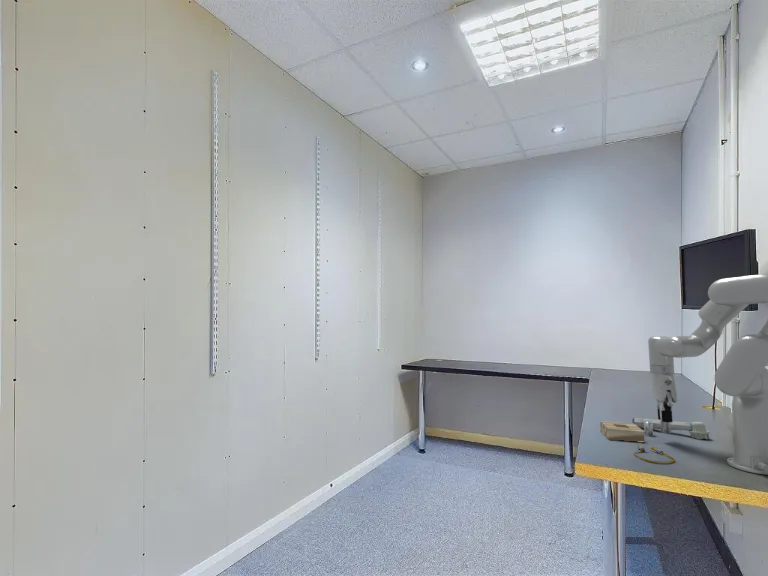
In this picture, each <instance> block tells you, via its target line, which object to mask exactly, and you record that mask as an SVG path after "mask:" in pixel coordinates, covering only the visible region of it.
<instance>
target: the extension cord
mask: <svg viewBox="0 0 768 576" xmlns="http://www.w3.org/2000/svg"><path fill="white" fill-rule="evenodd" d="M637 449H638V450H639V449H640V450H639V451H640V452H641V451H642V450H644V451H645V446H644V445H643V444H642V443H639V444H637ZM650 449H652V450H654V451H656V452H659V453H662V454H661V455H665V456H668V458H669V457H670V458H669V459H671V458H672V460H668V461H660V460H659V461H657V460H651V459H647V458H644V457H641V456H639V455H637V453H636V452H637V451H634V452H633V456H634V455H635V456H637V457H638V458H640V459H639V460H641V459H642V460H641V461H643V460H645V462H647V461H649V462H648V463H651V462H654V463H653V464H656V463H660V464H659V465H670V464H669V463H671V464H673V462H674V463H676V459H675V458H674V457H673V456H671V455H669V454H667V453H664V450H662V449H661V448H658V446H651V447H650ZM656 452H655V453H656ZM635 453H636V454H635ZM641 453H642V452H641ZM659 453H658V454H659ZM635 456H634V457H635ZM637 457H636V458H637Z"/></svg>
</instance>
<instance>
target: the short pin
mask: <svg viewBox="0 0 768 576" xmlns="http://www.w3.org/2000/svg"><path fill="white" fill-rule="evenodd" d="M653 430H654V429H653V422H651V421H644V429H643V431H644V434H647V435H653V436H654V431H653Z"/></svg>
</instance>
